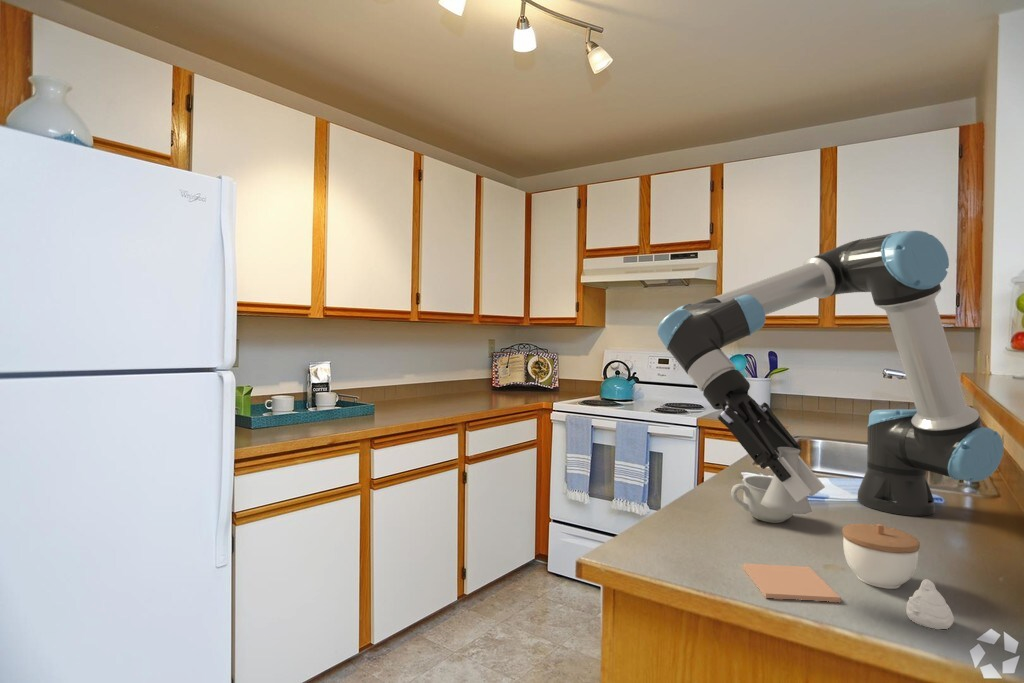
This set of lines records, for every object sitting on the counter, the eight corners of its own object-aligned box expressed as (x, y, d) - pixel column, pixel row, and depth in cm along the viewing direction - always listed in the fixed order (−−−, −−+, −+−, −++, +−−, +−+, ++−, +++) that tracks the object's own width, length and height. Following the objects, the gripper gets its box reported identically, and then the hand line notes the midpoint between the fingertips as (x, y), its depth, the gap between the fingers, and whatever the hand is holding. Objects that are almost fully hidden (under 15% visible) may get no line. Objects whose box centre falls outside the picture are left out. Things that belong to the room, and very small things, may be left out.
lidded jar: (890, 601, 87) (892, 540, 87) (826, 572, 97) (828, 518, 96) (933, 588, 91) (935, 531, 91) (868, 562, 101) (870, 511, 101)
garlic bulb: (902, 570, 84) (946, 576, 82) (901, 609, 84) (945, 616, 82) (914, 585, 79) (961, 592, 77) (912, 627, 79) (959, 635, 77)
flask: (751, 504, 94) (755, 444, 94) (782, 501, 97) (785, 443, 97) (789, 517, 88) (793, 453, 88) (820, 514, 91) (824, 452, 91)
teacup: (785, 511, 129) (786, 476, 129) (804, 528, 118) (806, 490, 118) (722, 508, 130) (723, 474, 130) (736, 525, 119) (737, 487, 119)
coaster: (808, 571, 97) (809, 566, 97) (840, 602, 86) (840, 597, 86) (742, 568, 98) (742, 563, 98) (765, 598, 87) (765, 593, 87)
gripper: (731, 391, 109) (817, 497, 97) (677, 397, 99) (766, 517, 86) (758, 365, 105) (852, 473, 92) (705, 368, 94) (803, 491, 82)
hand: (810, 494), depth 89 cm, fingers closed on flask, 4 cm apart
